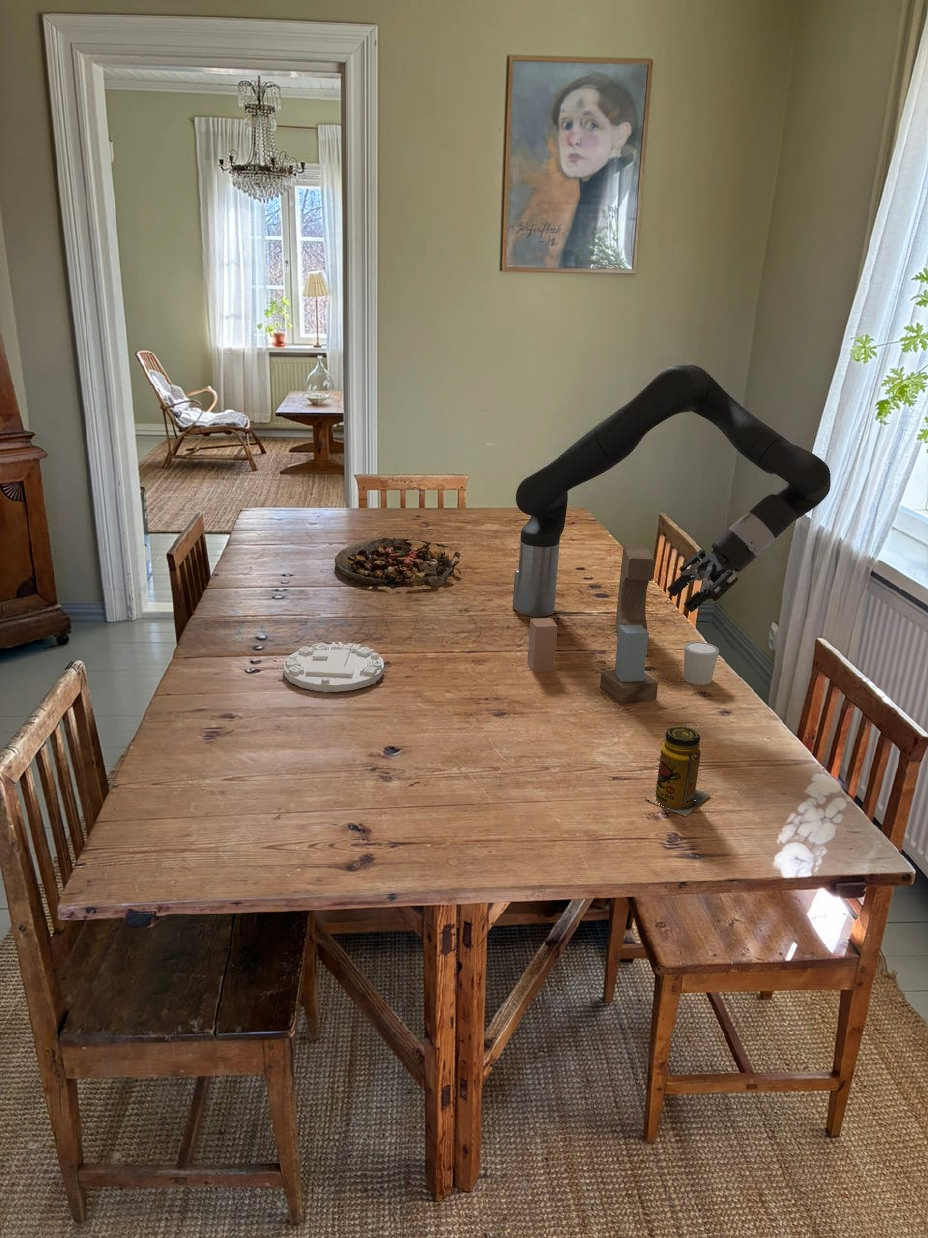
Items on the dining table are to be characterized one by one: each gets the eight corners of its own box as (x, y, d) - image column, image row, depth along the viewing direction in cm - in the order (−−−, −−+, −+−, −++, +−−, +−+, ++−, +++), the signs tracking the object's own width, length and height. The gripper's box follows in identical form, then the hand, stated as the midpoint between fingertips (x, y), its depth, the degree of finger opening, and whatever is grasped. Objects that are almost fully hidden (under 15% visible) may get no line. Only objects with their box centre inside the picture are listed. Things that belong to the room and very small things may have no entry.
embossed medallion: (264, 683, 184) (264, 669, 183) (315, 647, 201) (315, 635, 200) (355, 703, 177) (355, 689, 176) (400, 664, 195) (400, 651, 194)
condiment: (644, 800, 149) (652, 733, 145) (670, 780, 155) (679, 715, 151) (685, 818, 145) (695, 749, 140) (710, 796, 151) (721, 730, 147)
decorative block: (645, 646, 208) (655, 560, 201) (619, 644, 208) (628, 558, 201) (639, 627, 219) (648, 545, 211) (614, 626, 219) (623, 543, 212)
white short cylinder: (715, 675, 195) (720, 644, 193) (712, 688, 189) (717, 656, 186) (682, 669, 197) (686, 639, 195) (678, 682, 191) (682, 651, 188)
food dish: (484, 582, 248) (485, 554, 245) (373, 605, 231) (373, 575, 228) (414, 543, 275) (415, 517, 271) (310, 561, 257) (310, 534, 254)
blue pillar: (621, 681, 181) (625, 633, 178) (614, 672, 186) (618, 625, 182) (643, 681, 182) (648, 632, 179) (636, 672, 186) (641, 624, 183)
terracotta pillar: (532, 672, 193) (535, 626, 189) (527, 663, 197) (530, 618, 194) (553, 671, 194) (557, 626, 190) (548, 662, 198) (551, 618, 194)
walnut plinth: (621, 707, 180) (623, 688, 179) (599, 689, 187) (601, 671, 186) (656, 701, 183) (658, 682, 182) (633, 684, 190) (635, 666, 189)
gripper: (716, 518, 182) (653, 576, 184) (749, 539, 169) (681, 601, 171) (737, 544, 185) (675, 600, 187) (771, 567, 172) (704, 627, 174)
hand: (678, 600), depth 179 cm, fingers open, 8 cm apart
